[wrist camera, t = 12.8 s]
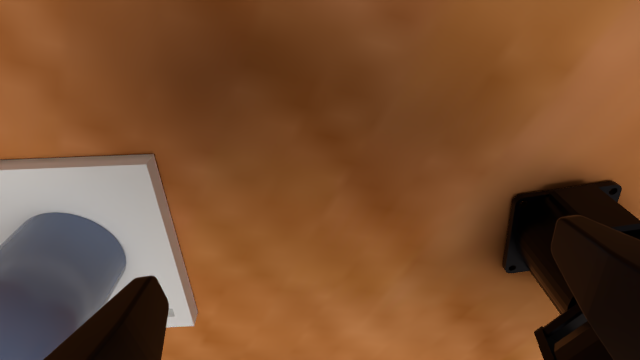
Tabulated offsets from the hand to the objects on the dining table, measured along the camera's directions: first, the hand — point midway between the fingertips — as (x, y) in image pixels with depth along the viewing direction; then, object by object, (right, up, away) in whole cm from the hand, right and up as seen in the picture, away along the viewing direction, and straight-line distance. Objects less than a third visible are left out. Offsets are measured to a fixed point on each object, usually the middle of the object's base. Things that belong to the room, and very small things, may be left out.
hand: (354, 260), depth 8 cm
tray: (-17, -3, +16) cm, 23 cm away
